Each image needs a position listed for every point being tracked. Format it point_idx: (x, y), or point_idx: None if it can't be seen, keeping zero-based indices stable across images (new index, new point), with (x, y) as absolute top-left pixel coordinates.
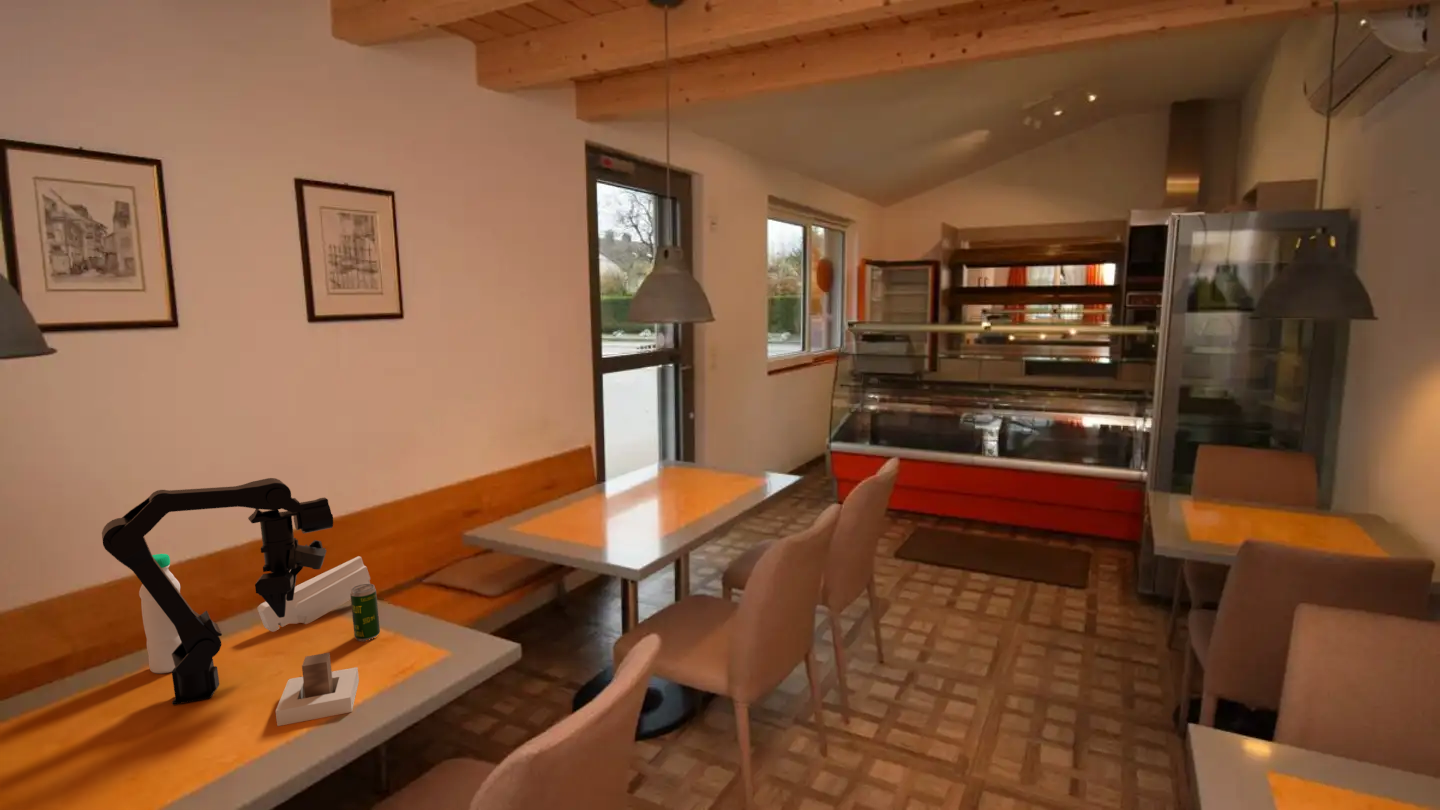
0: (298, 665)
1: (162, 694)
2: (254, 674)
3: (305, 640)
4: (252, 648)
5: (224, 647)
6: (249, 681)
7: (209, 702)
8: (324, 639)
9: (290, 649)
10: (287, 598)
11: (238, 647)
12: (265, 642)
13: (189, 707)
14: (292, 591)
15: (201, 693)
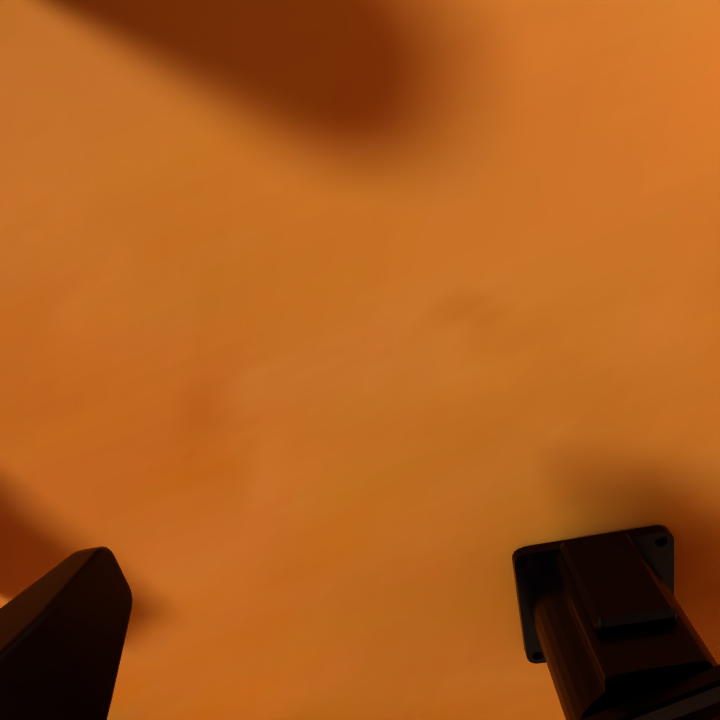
0: (392, 233)
1: (539, 699)
2: (450, 435)
3: (37, 327)
4: (138, 558)
5: (122, 669)
6: (528, 427)
7: (696, 512)
8: (18, 204)
9: (161, 368)
10: (117, 628)
11: None
12: (68, 528)
13: (710, 568)
14: (22, 666)
15: (657, 574)
